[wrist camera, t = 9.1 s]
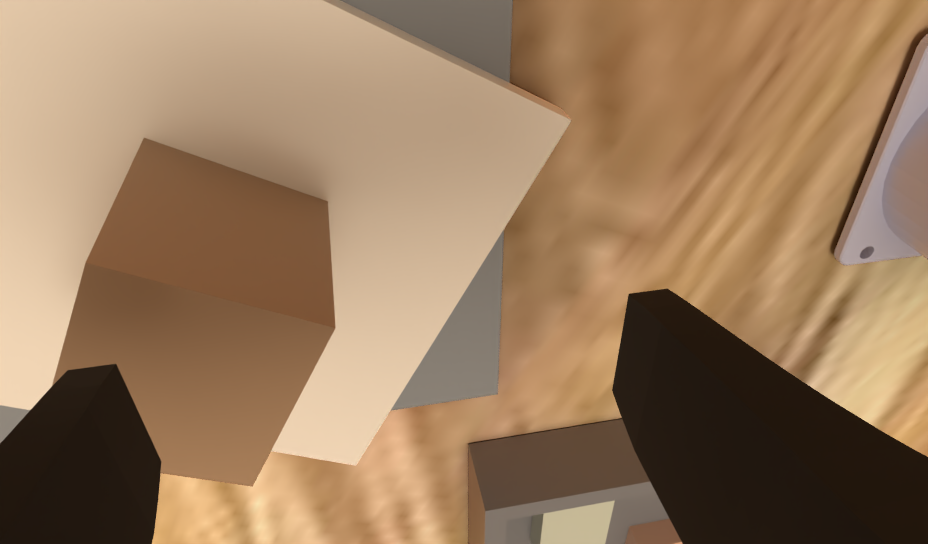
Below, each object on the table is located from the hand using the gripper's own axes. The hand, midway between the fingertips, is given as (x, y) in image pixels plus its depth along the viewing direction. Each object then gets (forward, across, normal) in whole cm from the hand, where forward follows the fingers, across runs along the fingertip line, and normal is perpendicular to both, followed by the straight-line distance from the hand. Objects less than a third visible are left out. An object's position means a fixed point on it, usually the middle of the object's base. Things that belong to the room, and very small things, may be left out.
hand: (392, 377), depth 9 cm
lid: (+9, +4, +3) cm, 10 cm away
